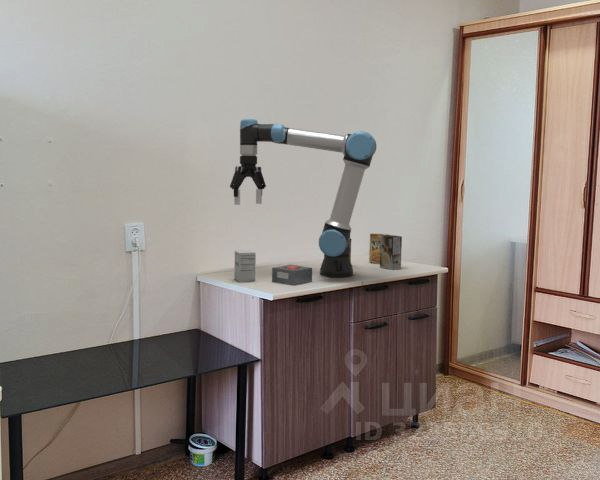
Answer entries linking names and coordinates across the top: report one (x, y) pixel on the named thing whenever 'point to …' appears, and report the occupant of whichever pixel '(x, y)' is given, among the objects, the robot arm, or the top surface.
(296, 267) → the button
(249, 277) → the supplement box
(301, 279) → the grey button housing
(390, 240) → the coffee box
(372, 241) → the candy box
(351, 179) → the robot arm
